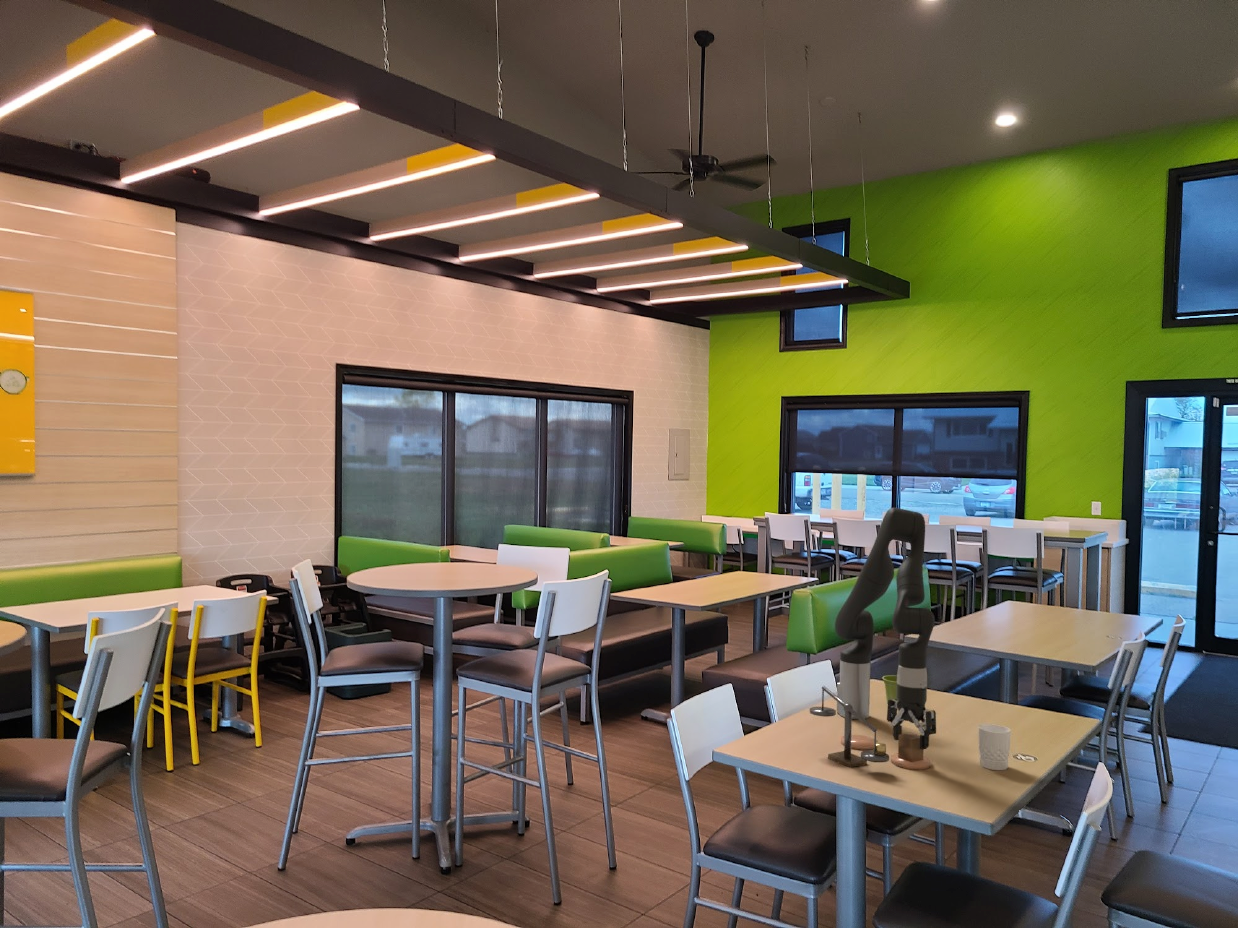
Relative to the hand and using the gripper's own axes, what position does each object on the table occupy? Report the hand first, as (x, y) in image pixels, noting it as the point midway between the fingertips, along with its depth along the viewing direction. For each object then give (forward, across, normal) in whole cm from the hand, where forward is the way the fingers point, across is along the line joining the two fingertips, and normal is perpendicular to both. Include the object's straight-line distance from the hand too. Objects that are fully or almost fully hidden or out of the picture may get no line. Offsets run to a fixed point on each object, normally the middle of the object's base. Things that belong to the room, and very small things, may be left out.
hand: (910, 744), depth 231 cm
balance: (+5, -9, -14) cm, 17 cm away
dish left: (+5, -18, 0) cm, 19 cm away
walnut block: (+4, 0, 0) cm, 4 cm away
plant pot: (+5, -43, +44) cm, 62 cm away
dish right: (+5, 0, 0) cm, 5 cm away
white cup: (+5, +12, +18) cm, 22 cm away
